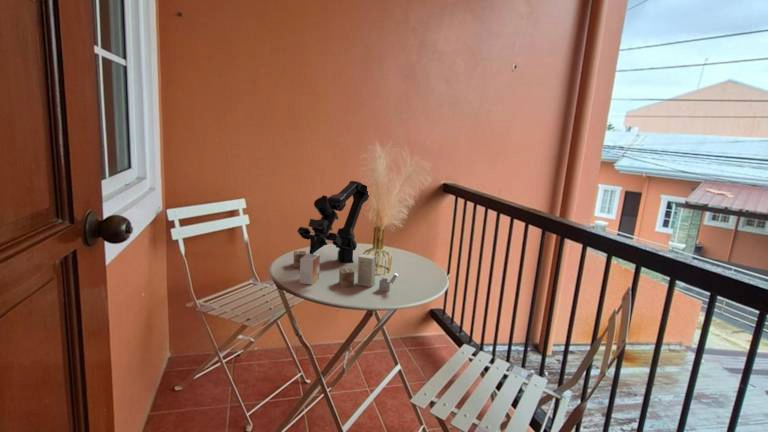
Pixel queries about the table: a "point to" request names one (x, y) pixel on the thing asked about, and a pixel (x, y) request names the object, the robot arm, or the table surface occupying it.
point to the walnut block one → (346, 277)
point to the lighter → (386, 283)
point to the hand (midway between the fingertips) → (310, 253)
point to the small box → (309, 268)
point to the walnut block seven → (298, 258)
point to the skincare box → (366, 270)
